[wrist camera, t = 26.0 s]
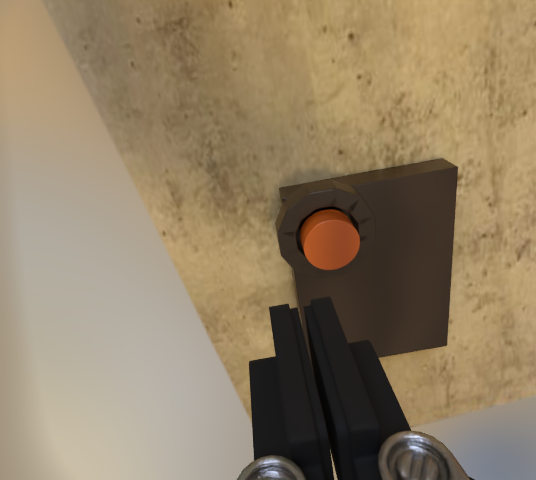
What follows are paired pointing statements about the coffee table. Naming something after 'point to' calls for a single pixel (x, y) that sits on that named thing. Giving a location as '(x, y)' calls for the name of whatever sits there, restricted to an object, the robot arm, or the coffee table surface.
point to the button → (329, 239)
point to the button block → (381, 253)
